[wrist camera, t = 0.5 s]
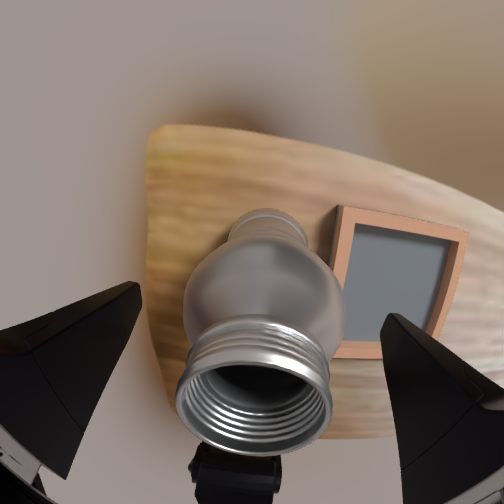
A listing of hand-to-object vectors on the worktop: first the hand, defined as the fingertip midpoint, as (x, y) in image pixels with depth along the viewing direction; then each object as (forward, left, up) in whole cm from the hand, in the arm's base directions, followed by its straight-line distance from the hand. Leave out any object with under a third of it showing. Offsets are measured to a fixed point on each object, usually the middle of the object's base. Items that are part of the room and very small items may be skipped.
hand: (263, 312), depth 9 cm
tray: (-4, -13, -16) cm, 21 cm away
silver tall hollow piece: (-1, 0, -16) cm, 16 cm away
